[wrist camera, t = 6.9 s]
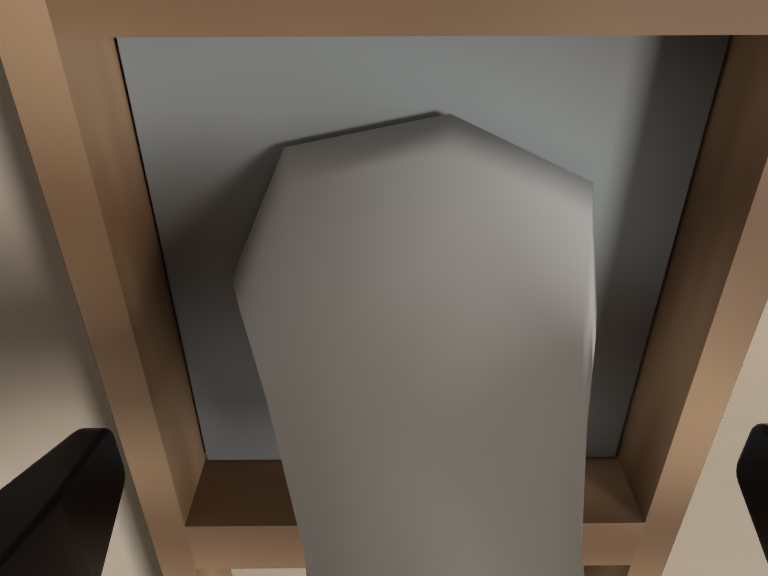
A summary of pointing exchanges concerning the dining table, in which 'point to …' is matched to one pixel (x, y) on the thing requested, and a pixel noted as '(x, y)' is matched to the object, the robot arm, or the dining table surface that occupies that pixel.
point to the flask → (426, 350)
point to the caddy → (371, 111)
